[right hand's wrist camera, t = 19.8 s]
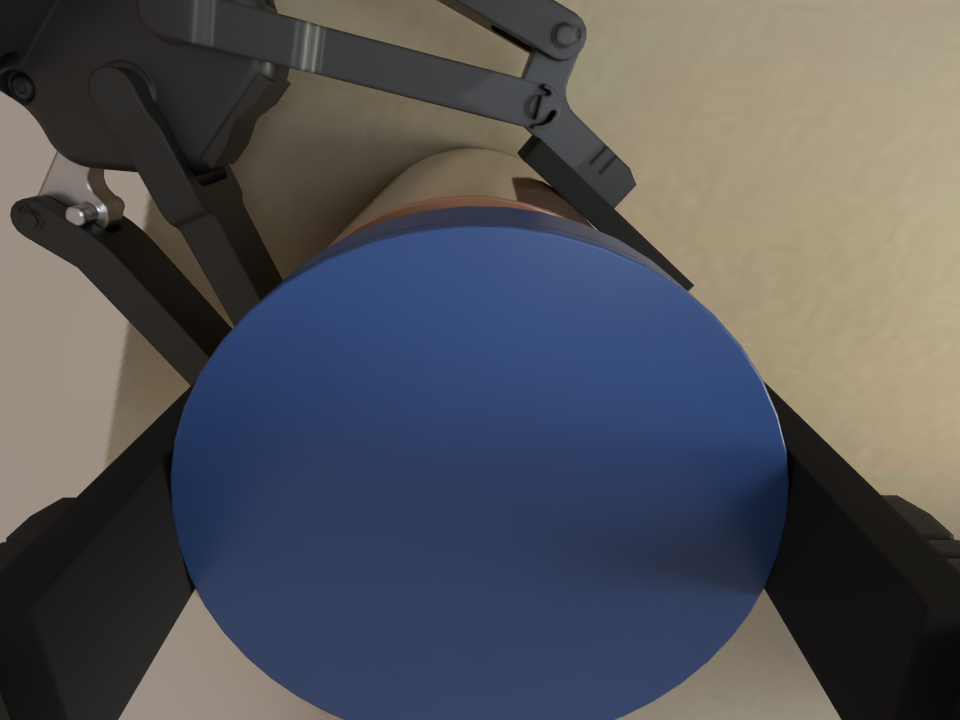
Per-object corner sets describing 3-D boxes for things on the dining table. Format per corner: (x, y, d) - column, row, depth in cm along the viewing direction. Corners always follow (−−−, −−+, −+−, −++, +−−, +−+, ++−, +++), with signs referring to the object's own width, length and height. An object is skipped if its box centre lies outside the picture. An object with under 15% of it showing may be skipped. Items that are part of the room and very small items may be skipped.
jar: (625, 241, 27) (793, 398, 13) (491, 399, 30) (507, 672, 15) (447, 97, 25) (413, 95, 11) (321, 283, 27) (159, 477, 13)
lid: (113, 488, 12) (53, 551, 11) (455, 64, 10) (450, 54, 8) (494, 734, 15) (496, 817, 13) (853, 455, 12) (916, 514, 10)
